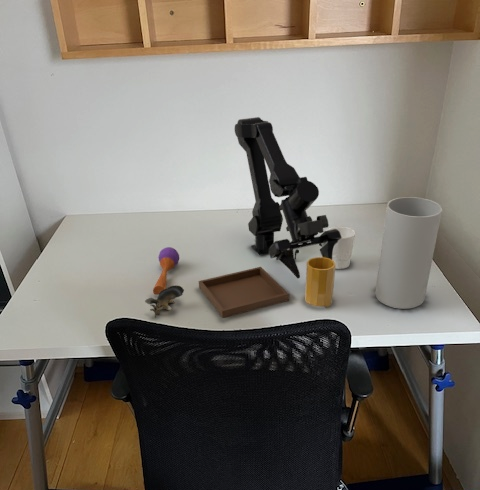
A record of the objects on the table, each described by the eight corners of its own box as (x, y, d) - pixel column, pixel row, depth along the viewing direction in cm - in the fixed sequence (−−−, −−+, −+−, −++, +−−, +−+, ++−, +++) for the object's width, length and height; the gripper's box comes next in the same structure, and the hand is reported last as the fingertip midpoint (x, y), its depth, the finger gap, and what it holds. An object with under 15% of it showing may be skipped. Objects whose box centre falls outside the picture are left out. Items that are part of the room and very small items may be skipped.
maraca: (145, 283, 141) (157, 245, 156) (152, 301, 144) (163, 262, 160) (166, 280, 140) (177, 241, 155) (173, 298, 143) (182, 259, 159)
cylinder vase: (366, 289, 144) (377, 200, 130) (407, 282, 146) (423, 194, 133) (389, 313, 134) (404, 220, 120) (433, 305, 136) (453, 213, 123)
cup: (300, 304, 138) (302, 266, 132) (310, 292, 143) (313, 254, 137) (326, 311, 135) (329, 272, 129) (335, 298, 140) (339, 260, 134)
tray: (199, 290, 145) (198, 281, 144) (260, 275, 152) (260, 266, 150) (222, 320, 133) (222, 311, 131) (288, 303, 139) (289, 293, 137)
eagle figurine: (173, 318, 132) (191, 296, 137) (155, 297, 129) (173, 274, 135) (155, 325, 137) (172, 302, 143) (137, 304, 134) (155, 282, 140)
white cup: (351, 271, 152) (354, 239, 147) (323, 269, 154) (325, 237, 148) (352, 258, 159) (355, 227, 153) (325, 256, 160) (327, 225, 155)
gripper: (274, 211, 129) (293, 272, 127) (341, 199, 135) (360, 256, 133) (260, 229, 140) (278, 285, 137) (323, 217, 146) (341, 270, 143)
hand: (314, 274), depth 137 cm, fingers open, 9 cm apart
